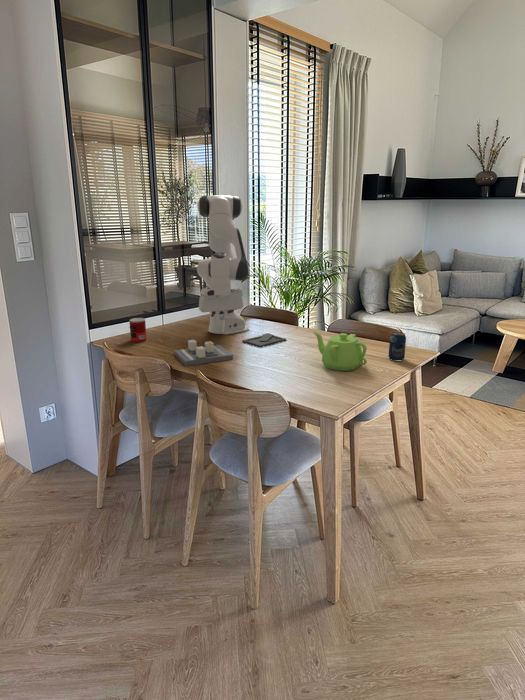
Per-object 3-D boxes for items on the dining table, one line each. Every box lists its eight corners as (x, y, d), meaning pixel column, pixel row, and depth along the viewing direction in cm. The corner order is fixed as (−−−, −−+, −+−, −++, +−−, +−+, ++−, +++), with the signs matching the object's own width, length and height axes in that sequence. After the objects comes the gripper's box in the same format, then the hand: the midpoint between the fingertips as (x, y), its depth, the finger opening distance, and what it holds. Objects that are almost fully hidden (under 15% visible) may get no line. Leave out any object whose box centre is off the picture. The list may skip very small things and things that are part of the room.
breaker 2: (202, 354, 218) (202, 346, 217) (205, 357, 215) (205, 348, 214) (196, 355, 217) (195, 347, 216) (198, 358, 214) (198, 349, 213)
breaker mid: (211, 349, 226) (210, 340, 225) (213, 351, 223) (213, 343, 221) (204, 350, 225) (204, 341, 224) (207, 352, 221) (207, 343, 220)
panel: (219, 348, 235) (218, 344, 235) (232, 359, 220) (232, 354, 219) (174, 354, 227) (174, 350, 226) (185, 365, 211) (185, 360, 210)
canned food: (148, 338, 254) (147, 317, 251) (143, 342, 246) (141, 321, 243) (134, 338, 255) (132, 317, 251) (128, 342, 247) (127, 321, 244)
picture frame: (268, 336, 258) (242, 343, 247) (268, 333, 258) (242, 339, 246) (286, 341, 249) (260, 348, 237) (286, 338, 248) (260, 344, 237)
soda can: (392, 362, 215) (394, 336, 211) (385, 357, 221) (387, 332, 218) (407, 361, 216) (409, 335, 213) (399, 356, 222) (401, 331, 219)
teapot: (370, 371, 203) (372, 338, 199) (324, 375, 199) (326, 341, 195) (354, 358, 221) (355, 327, 216) (311, 361, 217) (312, 329, 213)
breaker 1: (194, 347, 229) (194, 339, 228) (197, 350, 225) (196, 341, 224) (188, 348, 228) (188, 340, 226) (190, 350, 224) (190, 342, 223)
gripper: (239, 287, 225) (240, 316, 229) (197, 290, 217) (198, 320, 221) (245, 289, 220) (245, 319, 224) (201, 292, 211) (202, 323, 215)
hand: (221, 320), depth 222 cm, fingers closed
